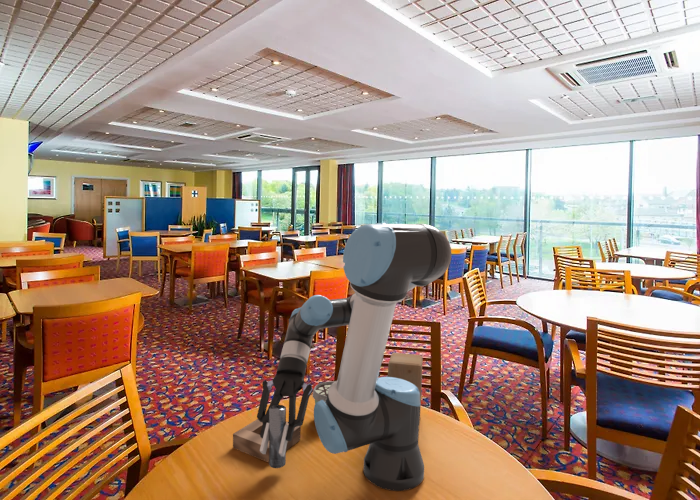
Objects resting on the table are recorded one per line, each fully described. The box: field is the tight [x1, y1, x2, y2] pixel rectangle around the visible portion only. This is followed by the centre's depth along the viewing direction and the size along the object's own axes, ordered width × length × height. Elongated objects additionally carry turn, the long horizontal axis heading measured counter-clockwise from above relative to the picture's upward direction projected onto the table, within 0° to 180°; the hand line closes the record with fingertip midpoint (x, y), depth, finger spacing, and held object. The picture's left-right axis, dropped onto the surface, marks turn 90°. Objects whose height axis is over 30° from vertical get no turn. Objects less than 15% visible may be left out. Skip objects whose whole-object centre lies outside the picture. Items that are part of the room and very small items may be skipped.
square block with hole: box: [232, 418, 302, 463], centre depth 117 cm, size 13×13×4 cm
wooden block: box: [387, 352, 424, 424], centre depth 131 cm, size 10×10×20 cm
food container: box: [312, 380, 336, 405], centre depth 131 cm, size 12×6×10 cm, turn 172°
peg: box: [268, 404, 287, 469], centre depth 103 cm, size 4×4×14 cm
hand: (272, 453), depth 99 cm, fingers closed on peg, 4 cm apart
